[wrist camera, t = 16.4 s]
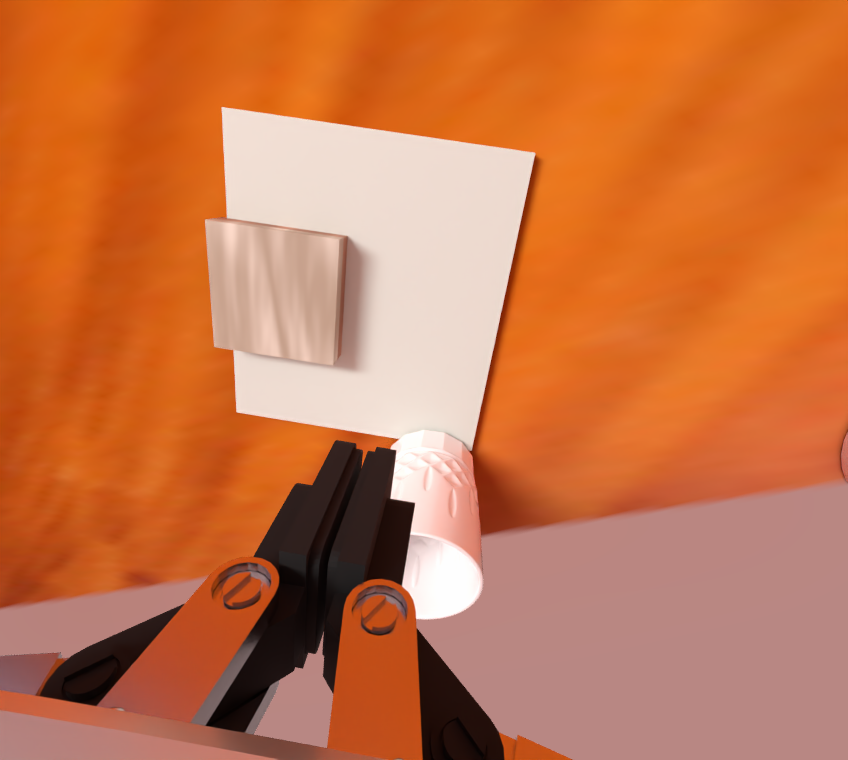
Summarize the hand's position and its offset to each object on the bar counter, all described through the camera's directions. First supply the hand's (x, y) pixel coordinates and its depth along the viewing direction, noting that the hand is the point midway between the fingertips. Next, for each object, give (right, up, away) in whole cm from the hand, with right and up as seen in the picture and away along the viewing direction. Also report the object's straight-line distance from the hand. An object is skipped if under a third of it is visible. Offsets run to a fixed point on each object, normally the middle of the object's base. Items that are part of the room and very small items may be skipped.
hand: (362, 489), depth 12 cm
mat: (-2, +8, +17) cm, 20 cm away
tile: (-4, +8, +16) cm, 18 cm away
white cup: (+2, -3, +22) cm, 22 cm away
